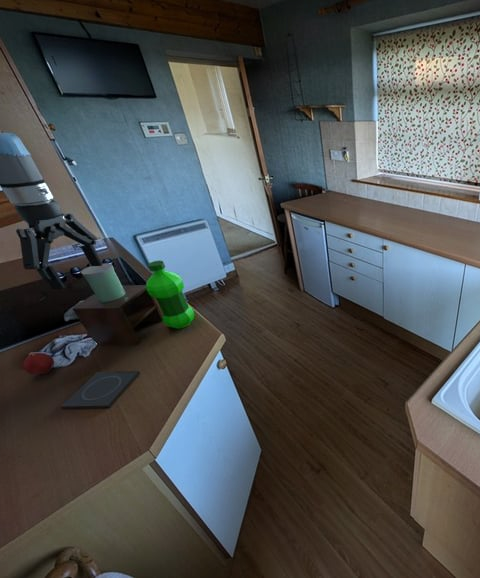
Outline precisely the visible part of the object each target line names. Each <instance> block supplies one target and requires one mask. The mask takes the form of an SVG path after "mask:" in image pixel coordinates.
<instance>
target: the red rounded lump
mask: <svg viewBox="0 0 480 578" xmlns="http://www.w3.org/2000/svg"><path fill="white" fill-rule="evenodd" d="M54 365H55V360H54V357H53V356H51V355H50V354H48V353H44V352H30V353H29V354H28V355H27V357H26V358H25V359H24V361H23V363H22V366H23V369H24V371H25V372H27V373H28V374H32V375H46V374H48V373H49V372H50V371H51V370H52V368H53V367H54Z"/></svg>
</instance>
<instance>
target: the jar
mask: <svg viewBox="0 0 480 578" xmlns="http://www.w3.org/2000/svg"><path fill="white" fill-rule="evenodd" d="M102 264H103V265H102V266H91V265H90V266H88V267H85V268H83V269H82V270H81V271H80V274H81V275H82V277H83V278H84V279H85V281H86V282H87V283H88V285H89V287H90V288H91V290H92V292H93V294H95V295H96V297H97V298H98V300H99V301H101V302H108V301H113V300H116V299H119V298H121V297H122V296H124V295H125V293H126V292H125V290H124V288H123V286H122V285H123V284H122V282H121V281H120V279H119V277H118V275H117V273H116V271H115V268H114V266H113V264H111V263H109V262H108V263H102Z"/></svg>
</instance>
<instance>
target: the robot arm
mask: <svg viewBox="0 0 480 578" xmlns="http://www.w3.org/2000/svg"><path fill="white" fill-rule="evenodd" d="M0 188H1V189H2V191H3V193H4V195H5V196H6V199H8V201H9V202H10V203H11V204H12V205H14V207H13V209H14V210H15V212H16V213H17V215H18V216H19V217H20V219H21V220H22V221H24V222H25V223H27V225H28V227H27V228H17V229H16V230H15V232H16V234H17V236H18V238H19V241H20V249H21V250H20V251H21V257H22V258H21V259H22V264H23V265H22V266H23V269H24V270H36V271H37V273H38V274H39V276H40V277H41V279H43V280H44V281H46V282H47V284H48V285H49V286H50V288H51V289H52V290H64V289H66V285H65V284H64V282H63V281H62V280H61V278H60V276H59V274H58V273H57V271H56V270H55V268H54V267H53V265H49V259H50V251H51V244H52V243H53V242H54V240H56V239H58V238H60V237H63V236H65V237H66V238H69V239H71V240H72V241H75V242H77V243H78V244H80V245H81V246H80V249H81V250H82V252H83V254H84V256H85V257H86V260H87V261H88V263H89V264H90V266H102V265H103V264H104V263H102V260H101V259H100V257H99V256H98V251H97V249H96V247H95V245H97V241H98V237H97V236H96V235H95V234H93V233H92V232H91V231H90V230H89V229H88V228H87V227H85V226H84V225H83V224H82V223H81V222H80V221H78V220H77V218H76V217H75V215H74V213H64V212H63V211H62V209H61V207H60V205H59V204H58V202H57V201H56V200H54V195H53V193H52V191H51V190H50V188H49V187H48V185H47V183H46V181H45V180H44V177H43V176H42V174H41V172H40V171H39V169H38V166H37V165H36V163H35V161H34V160H33V158H32V155H31V153H30V152H29V151H28V149H27V148H26V146H25V145H24V143H23V141H22V140H21V138H20V137H19V136H18V135H16V134H15V133H11V132H0Z"/></svg>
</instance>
